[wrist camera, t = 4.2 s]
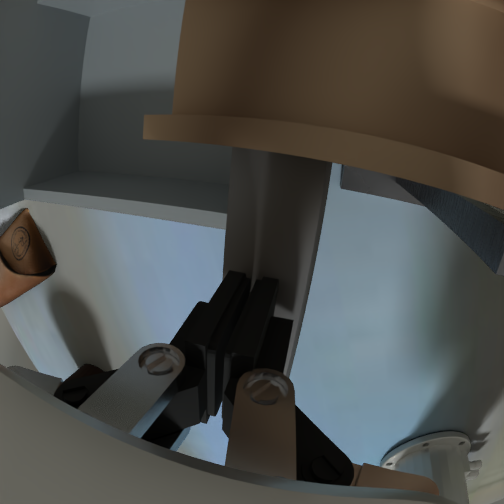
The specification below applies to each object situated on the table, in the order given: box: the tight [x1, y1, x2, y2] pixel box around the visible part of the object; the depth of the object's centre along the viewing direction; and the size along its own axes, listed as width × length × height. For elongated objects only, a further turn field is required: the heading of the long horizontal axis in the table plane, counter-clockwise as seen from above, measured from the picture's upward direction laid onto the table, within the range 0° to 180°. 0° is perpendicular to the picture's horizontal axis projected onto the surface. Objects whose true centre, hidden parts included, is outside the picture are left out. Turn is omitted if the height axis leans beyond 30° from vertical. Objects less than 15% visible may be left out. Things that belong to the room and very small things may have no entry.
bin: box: [0, 0, 232, 230], centre depth 14 cm, size 18×16×12 cm
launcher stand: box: [340, 165, 504, 276], centre depth 10 cm, size 8×12×14 cm, turn 174°
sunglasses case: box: [0, 208, 57, 307], centre depth 30 cm, size 18×7×7 cm, turn 116°
